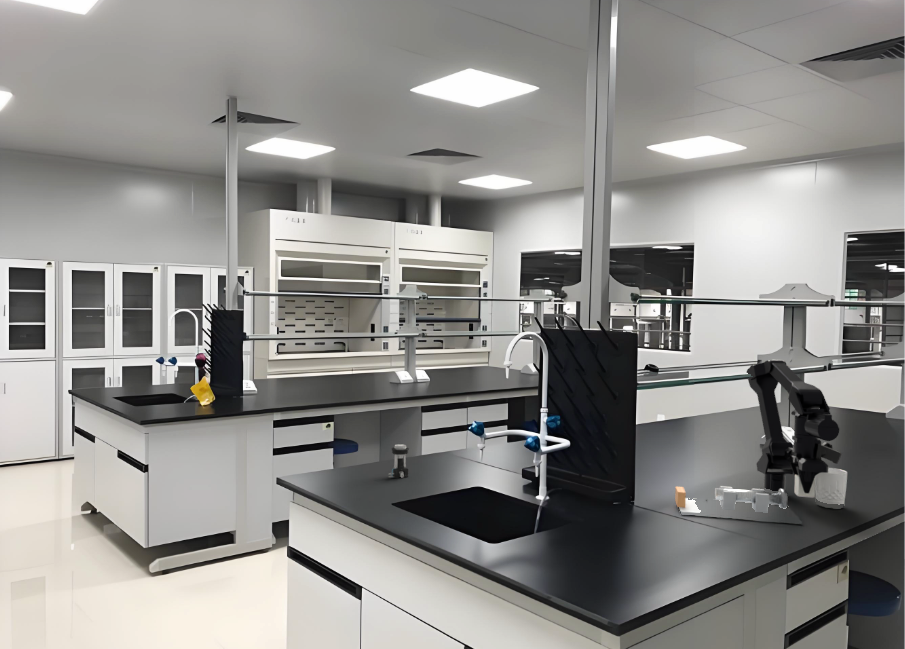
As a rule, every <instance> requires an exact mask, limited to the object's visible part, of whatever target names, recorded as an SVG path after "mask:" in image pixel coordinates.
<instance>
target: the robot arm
mask: <svg viewBox="0 0 905 649" xmlns="http://www.w3.org/2000/svg"><path fill="white" fill-rule="evenodd" d="M746 373H748V374H751V376H753V377H749V379H747V380H748V383H749V384H748V385H749V387H750V388H751V389H752V390H753V392H754V393H755V394H756V395H757V400H758V405H759V412H760V416H761V421H762V426H763V432H764V437H765V438H764V439H765V441H764V444H763V446H762V449H761V453H762V454H761V456H760V457H759V459H758V460H757V462H756V471H757V472H760V473H762V474H763V488H766V489H770V490H772V491H779V489H786V475H793V476H794V477H795V475H799V478H800V481H801V484H802V487H803V490H804V493H809V492H810V489H811V486H812V483H813V481H814V479H815V476H816V475H817V474H819V473H822V472H823V473H828V468H829V464H828V463H827V462H826V461H827V460H828V461H830V462H832V463H834V464H836V465H837V464H839V461H840V459H841V457H842V455H843V453H842V452H840V451H839V450H836V449H834V448H833V444H831V443H829V442H830V441H834V440H835V439H837V437H838V436H839V434H840V426H839V424H838V423H837V422H836V421H835V420H834V419H833V415H832V414H831V411H830V409H831V408H830V407H829V405H828V402H827V400H826V398H825V396H824V394H823V391H822V390H821V389H820V388H818V387H816V386H815V385H814V384H810V383H808V382H805V381H803V380H802V379H801V377H799V376H798V375H797V374H796V373H795V372H794V371H793V370H792V369H791V368H790V367H789V366H788V365H787V363H786V361H785V360H783V359H768V360H765V361H764V362H760V363H757V364H752V365H750V367H748V369H746ZM746 373H745V374H746ZM778 384H780V385H781V386H782V388H784V390H785V391H786V392H787V393H788V398H787V400H788V401H789V402H790V405H791V406H792V407H793V408H794V410H792V411H791V415H792V416H794V426H793V427H794V428H793V430H794V434H793V435H792V436H791V439H792V441H793V443H792V442H791V441H787V440H786V438H785V437H784V433H783V432H784V431H783V428H782V422H781V418H780V412H779V408H778V402H777V397H776V392H775V391H776V389H777V386H778ZM822 441H824V442H823V443H822ZM823 459H825V460H826V461H824V460H823Z"/></svg>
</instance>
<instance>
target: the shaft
mask: <svg viewBox="0 0 905 649" xmlns="http://www.w3.org/2000/svg"><path fill="white" fill-rule="evenodd" d="M723 491H735V492H736V502H745V503H752V502H755V496H756V493H763V494H768V495H769V504H771V505H779V507H780V508H783V509H786V508H787V506H788V502H789V500H788V499H789V498H788V497H789V496H787V493H788V492H787V489H786V488H785V489H779V491H778V492H765V491H752V489H751V490H750V489H749V490H748V489H737V488H736V489H734V488H733V489H724V488H720V487H715V488H714V498H715V499H714V500H719V501H720V500H723Z"/></svg>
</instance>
